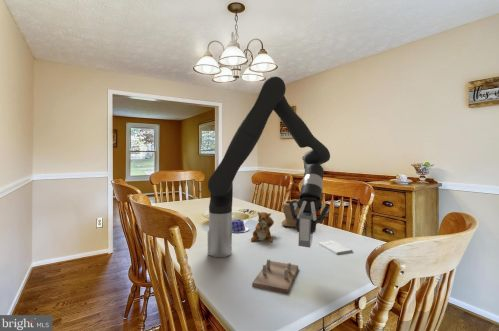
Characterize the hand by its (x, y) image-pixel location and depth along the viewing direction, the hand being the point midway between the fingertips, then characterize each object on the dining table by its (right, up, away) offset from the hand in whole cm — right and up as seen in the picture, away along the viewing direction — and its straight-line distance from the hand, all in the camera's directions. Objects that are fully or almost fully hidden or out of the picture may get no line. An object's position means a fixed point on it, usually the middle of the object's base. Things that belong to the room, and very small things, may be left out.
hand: (305, 231), depth 80 cm
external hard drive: (+19, -16, +29) cm, 38 cm away
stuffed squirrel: (-11, -14, +41) cm, 45 cm away
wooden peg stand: (-9, -16, +3) cm, 18 cm away
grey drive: (+1, -4, +2) cm, 5 cm away
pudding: (-24, -14, +54) cm, 61 cm away
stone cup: (+8, -13, +60) cm, 62 cm away
